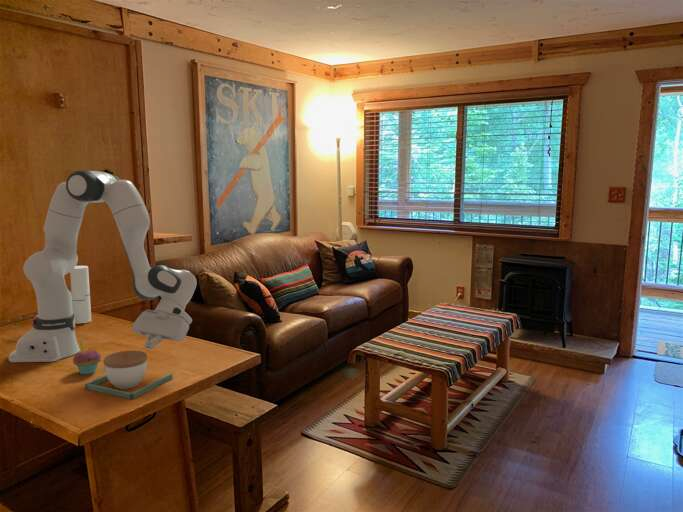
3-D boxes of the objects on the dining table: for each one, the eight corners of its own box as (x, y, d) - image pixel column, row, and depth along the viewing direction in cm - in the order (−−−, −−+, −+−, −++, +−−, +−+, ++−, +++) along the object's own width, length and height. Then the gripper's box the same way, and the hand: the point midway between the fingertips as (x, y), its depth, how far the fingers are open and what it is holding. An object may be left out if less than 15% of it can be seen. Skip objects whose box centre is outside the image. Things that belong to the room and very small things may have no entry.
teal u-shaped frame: (128, 369, 176) (128, 364, 176) (172, 378, 169) (172, 373, 169) (85, 388, 159) (85, 384, 159) (132, 399, 153) (131, 394, 152)
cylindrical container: (95, 321, 230) (91, 266, 226) (81, 325, 223) (77, 269, 219) (83, 319, 232) (80, 265, 228) (69, 323, 226) (66, 267, 222)
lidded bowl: (142, 373, 172) (141, 342, 170) (152, 387, 162) (151, 353, 160) (101, 381, 165) (99, 348, 163) (109, 396, 155) (107, 361, 153)
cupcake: (83, 378, 167) (80, 343, 165) (68, 372, 172) (65, 338, 170) (107, 370, 174) (105, 336, 172) (92, 365, 179) (90, 331, 177)
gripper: (140, 304, 180) (119, 338, 173) (187, 311, 172) (168, 348, 165) (149, 313, 185) (130, 347, 177) (196, 321, 177) (177, 357, 170)
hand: (148, 347), depth 171 cm, fingers closed
